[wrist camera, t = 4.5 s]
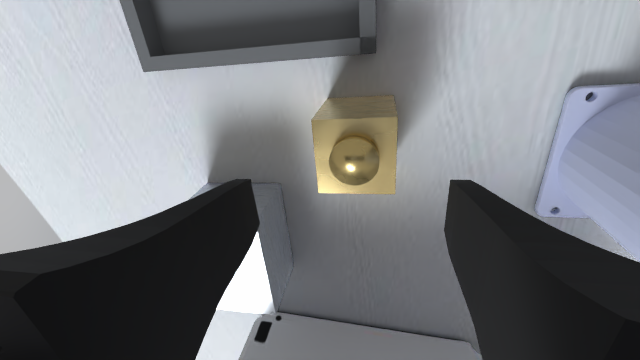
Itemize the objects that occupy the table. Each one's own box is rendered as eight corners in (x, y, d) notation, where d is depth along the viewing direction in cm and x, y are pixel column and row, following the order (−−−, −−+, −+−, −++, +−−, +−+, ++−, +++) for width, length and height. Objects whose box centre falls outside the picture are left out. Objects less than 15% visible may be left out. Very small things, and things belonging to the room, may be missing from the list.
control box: (280, 183, 22) (251, 228, 17) (293, 265, 25) (273, 322, 20) (205, 182, 23) (157, 224, 18) (227, 261, 27) (193, 314, 22)
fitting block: (393, 95, 18) (398, 120, 13) (391, 156, 19) (395, 200, 14) (327, 98, 18) (308, 123, 13) (331, 157, 20) (316, 198, 15)
